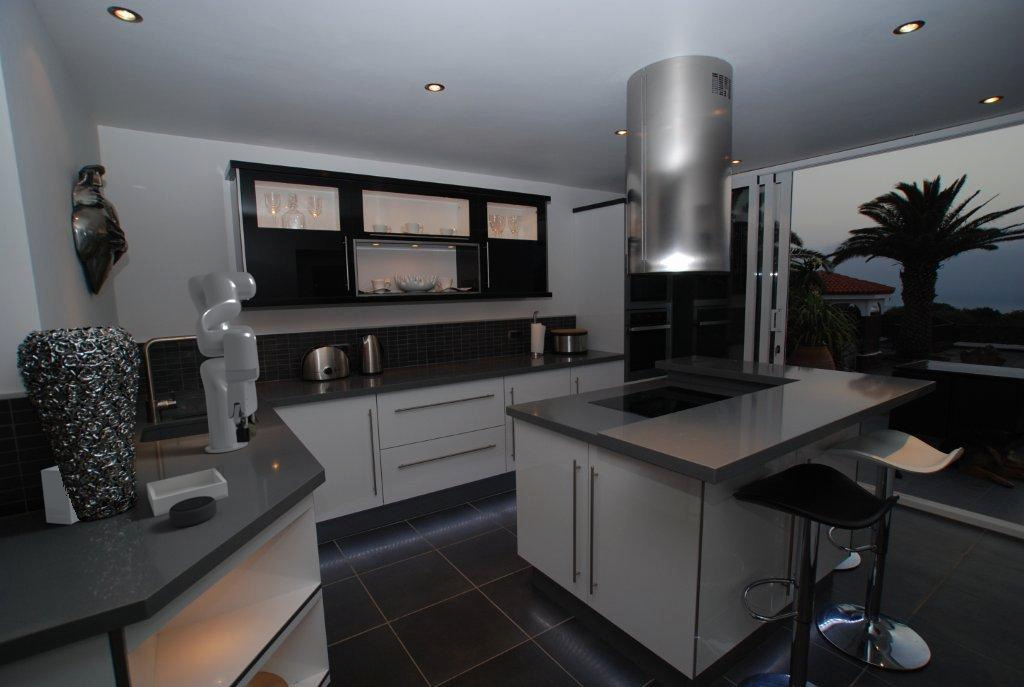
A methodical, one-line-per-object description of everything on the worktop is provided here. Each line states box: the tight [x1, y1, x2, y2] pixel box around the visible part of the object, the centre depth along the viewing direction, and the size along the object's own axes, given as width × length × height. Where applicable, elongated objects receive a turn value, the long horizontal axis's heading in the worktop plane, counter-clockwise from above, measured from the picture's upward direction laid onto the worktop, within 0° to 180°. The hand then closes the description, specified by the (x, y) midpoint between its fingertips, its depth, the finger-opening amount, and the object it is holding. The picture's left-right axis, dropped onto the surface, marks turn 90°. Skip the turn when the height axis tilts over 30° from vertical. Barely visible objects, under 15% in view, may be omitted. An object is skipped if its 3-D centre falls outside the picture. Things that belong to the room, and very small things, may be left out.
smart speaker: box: [168, 496, 218, 528], centre depth 106 cm, size 9×9×4 cm
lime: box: [248, 423, 258, 441], centre depth 130 cm, size 4×5×5 cm
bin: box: [146, 467, 229, 517], centre depth 118 cm, size 15×15×4 cm
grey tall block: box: [40, 465, 80, 525], centre depth 109 cm, size 7×7×13 cm
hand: (246, 438), depth 130 cm, fingers closed on lime, 4 cm apart
